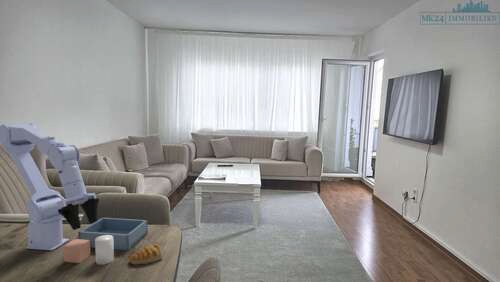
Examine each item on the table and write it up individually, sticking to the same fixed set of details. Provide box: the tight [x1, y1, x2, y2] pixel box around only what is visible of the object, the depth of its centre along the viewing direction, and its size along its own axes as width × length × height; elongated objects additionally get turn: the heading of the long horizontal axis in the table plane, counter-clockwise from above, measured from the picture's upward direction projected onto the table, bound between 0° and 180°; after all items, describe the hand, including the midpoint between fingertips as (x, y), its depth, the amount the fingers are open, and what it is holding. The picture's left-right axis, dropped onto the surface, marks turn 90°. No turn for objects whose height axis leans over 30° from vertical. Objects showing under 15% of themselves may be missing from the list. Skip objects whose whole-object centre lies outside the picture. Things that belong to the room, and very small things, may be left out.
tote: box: [77, 217, 149, 251], centre depth 107 cm, size 18×14×5 cm
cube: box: [63, 238, 91, 264], centre depth 93 cm, size 5×5×5 cm
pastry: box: [128, 243, 163, 266], centre depth 93 cm, size 9×7×4 cm
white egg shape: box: [94, 235, 115, 265], centre depth 92 cm, size 5×5×7 cm
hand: (85, 225), depth 93 cm, fingers open, 7 cm apart
